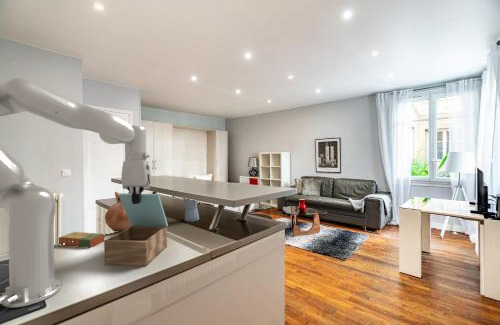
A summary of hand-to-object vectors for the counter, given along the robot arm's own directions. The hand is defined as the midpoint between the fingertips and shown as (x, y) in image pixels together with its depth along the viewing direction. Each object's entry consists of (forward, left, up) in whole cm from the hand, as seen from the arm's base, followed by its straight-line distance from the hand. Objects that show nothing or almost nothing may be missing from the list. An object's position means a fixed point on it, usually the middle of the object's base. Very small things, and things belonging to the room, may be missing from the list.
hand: (136, 203), depth 92 cm
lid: (+6, 0, -5) cm, 8 cm away
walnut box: (+1, 0, -22) cm, 22 cm away
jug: (+33, +26, -22) cm, 48 cm away
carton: (+11, +32, -22) cm, 41 cm away
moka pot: (+53, -6, -22) cm, 58 cm away
